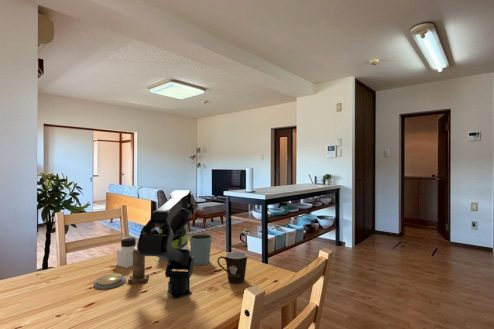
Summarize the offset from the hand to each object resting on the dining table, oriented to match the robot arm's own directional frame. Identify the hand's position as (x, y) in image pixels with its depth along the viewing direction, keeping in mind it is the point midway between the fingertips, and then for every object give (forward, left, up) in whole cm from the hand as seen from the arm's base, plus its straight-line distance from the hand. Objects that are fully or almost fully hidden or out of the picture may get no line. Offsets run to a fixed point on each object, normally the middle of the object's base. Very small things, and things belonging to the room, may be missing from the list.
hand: (153, 248), depth 106 cm
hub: (+12, -11, -13) cm, 21 cm away
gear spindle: (+3, -6, -13) cm, 15 cm away
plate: (+12, -11, -13) cm, 21 cm away
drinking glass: (-27, -9, -14) cm, 31 cm away
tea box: (-23, -28, -14) cm, 39 cm away
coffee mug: (-26, +17, -14) cm, 34 cm away
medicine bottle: (0, -27, -14) cm, 30 cm away
